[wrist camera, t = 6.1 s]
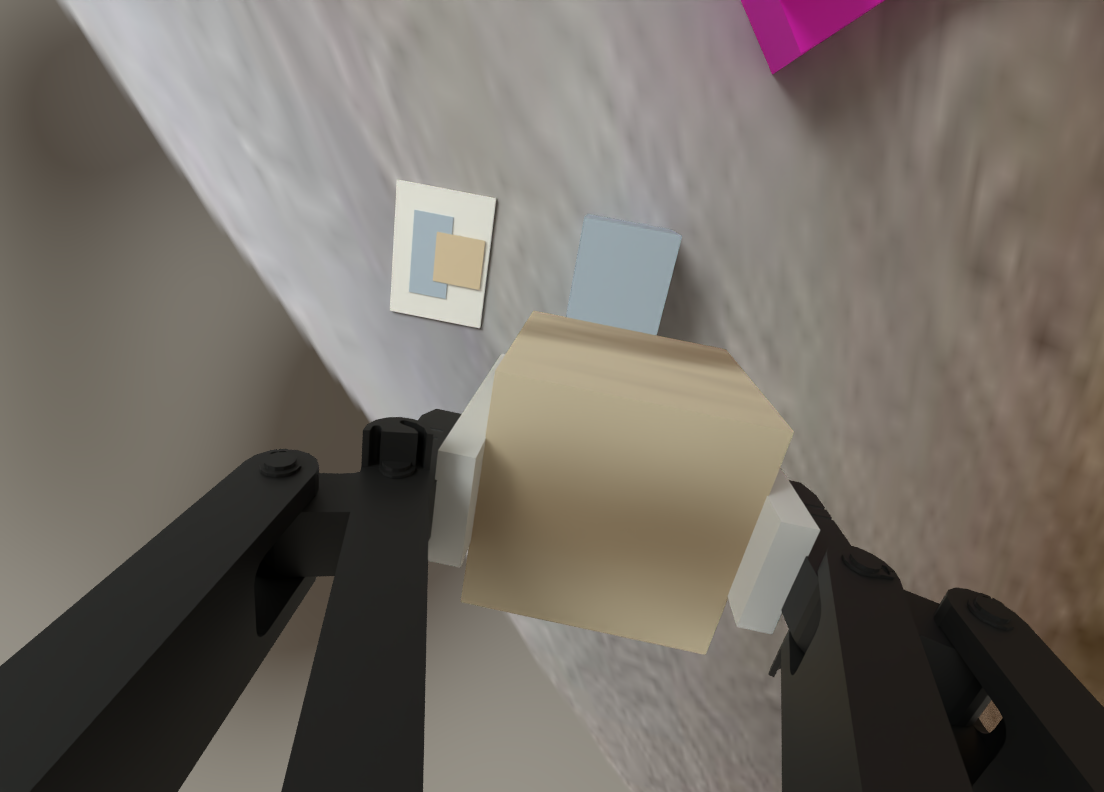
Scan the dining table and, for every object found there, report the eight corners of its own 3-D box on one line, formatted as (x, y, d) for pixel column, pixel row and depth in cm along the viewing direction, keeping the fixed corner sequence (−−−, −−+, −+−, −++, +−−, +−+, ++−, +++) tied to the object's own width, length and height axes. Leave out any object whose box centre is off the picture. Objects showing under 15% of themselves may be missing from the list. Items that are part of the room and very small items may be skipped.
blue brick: (587, 213, 30) (584, 217, 26) (670, 228, 30) (682, 235, 26) (558, 369, 34) (551, 397, 30) (631, 383, 34) (636, 414, 29)
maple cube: (533, 310, 16) (495, 370, 10) (725, 349, 16) (794, 432, 10) (505, 477, 18) (460, 602, 12) (673, 512, 18) (705, 655, 12)
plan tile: (398, 179, 30) (396, 179, 30) (496, 198, 30) (495, 198, 30) (391, 309, 34) (389, 311, 33) (480, 327, 33) (479, 329, 33)
